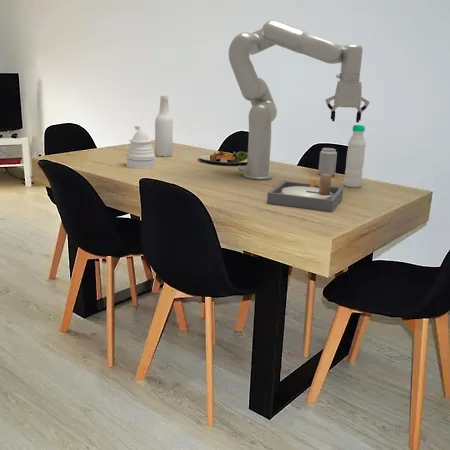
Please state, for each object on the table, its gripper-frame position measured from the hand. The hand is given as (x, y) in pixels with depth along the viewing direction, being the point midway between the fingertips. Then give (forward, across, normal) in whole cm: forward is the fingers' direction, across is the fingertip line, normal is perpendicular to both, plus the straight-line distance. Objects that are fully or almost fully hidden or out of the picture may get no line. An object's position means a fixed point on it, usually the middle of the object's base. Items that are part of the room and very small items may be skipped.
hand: (345, 121), depth 222 cm
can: (+26, -3, +22) cm, 34 cm away
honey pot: (+26, -87, +17) cm, 93 cm away
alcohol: (+26, -83, +48) cm, 99 cm away
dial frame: (+26, -15, -30) cm, 43 cm away
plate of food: (+27, -50, +43) cm, 71 cm away
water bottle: (+26, +6, 0) cm, 27 cm away
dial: (+24, -15, -30) cm, 42 cm away
